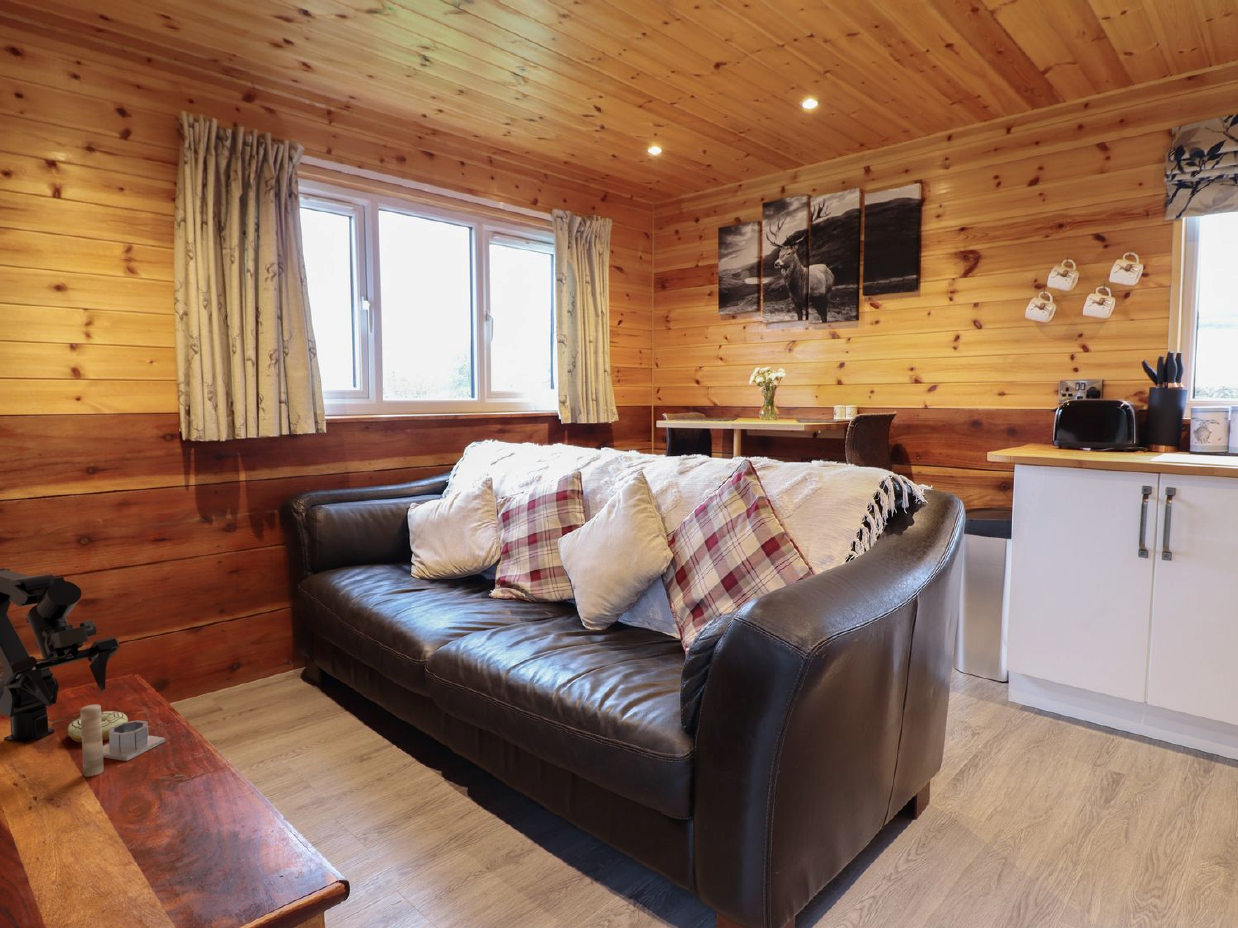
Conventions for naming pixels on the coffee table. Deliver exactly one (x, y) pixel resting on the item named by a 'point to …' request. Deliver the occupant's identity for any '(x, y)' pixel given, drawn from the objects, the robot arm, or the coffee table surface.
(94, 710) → the wooden post
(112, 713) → the decorated donut
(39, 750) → the coffee table surface
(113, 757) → the cup bracket
